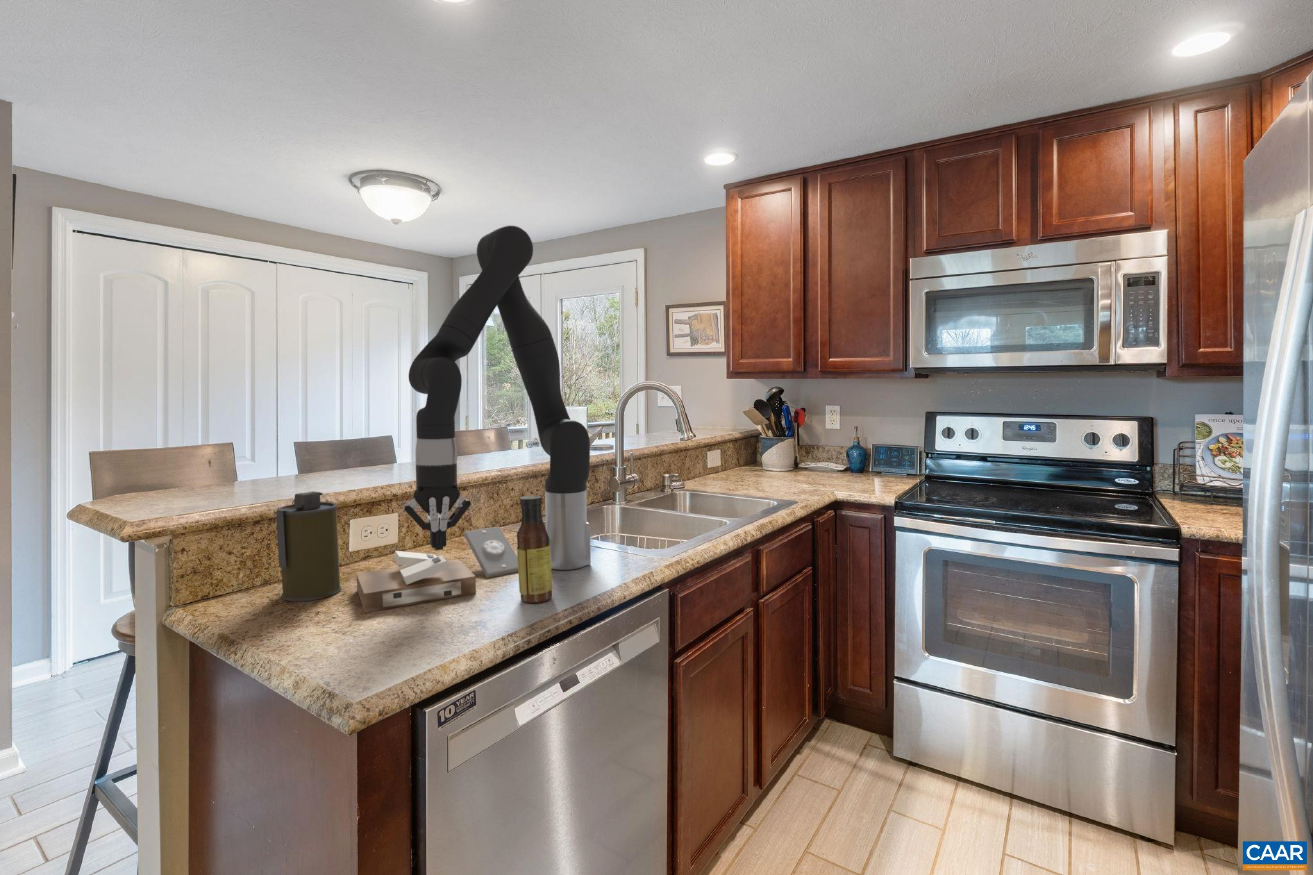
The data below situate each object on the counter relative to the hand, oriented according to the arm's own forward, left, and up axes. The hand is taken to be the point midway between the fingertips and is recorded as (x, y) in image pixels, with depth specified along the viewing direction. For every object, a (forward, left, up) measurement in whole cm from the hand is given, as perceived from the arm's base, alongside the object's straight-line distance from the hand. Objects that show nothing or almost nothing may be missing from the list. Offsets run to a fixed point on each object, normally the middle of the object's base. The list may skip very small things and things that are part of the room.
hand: (438, 549), depth 123 cm
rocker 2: (+3, 0, -4) cm, 5 cm away
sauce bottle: (-15, +12, -9) cm, 22 cm away
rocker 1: (+3, -8, -4) cm, 9 cm away
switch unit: (+4, -4, -9) cm, 10 cm away
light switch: (-14, -12, -9) cm, 21 cm away
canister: (+22, -14, -9) cm, 27 cm away
